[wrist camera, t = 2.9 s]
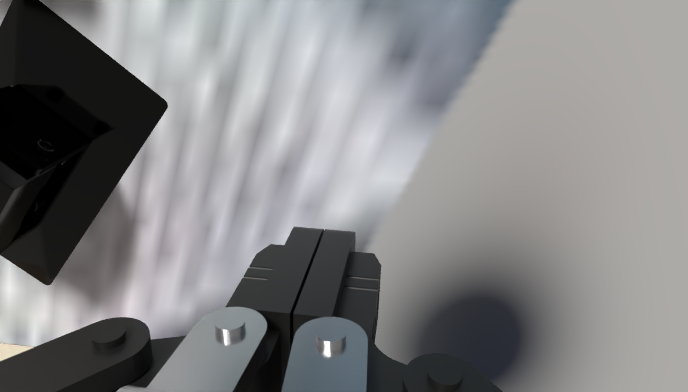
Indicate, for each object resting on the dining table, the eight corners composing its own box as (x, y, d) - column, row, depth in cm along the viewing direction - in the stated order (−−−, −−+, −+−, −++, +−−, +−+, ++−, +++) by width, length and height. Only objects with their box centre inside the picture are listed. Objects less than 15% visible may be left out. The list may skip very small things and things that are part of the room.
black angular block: (32, -75, 16) (-104, -90, 12) (230, 83, 17) (171, 122, 13) (-100, 207, 21) (-233, 270, 16) (63, 316, 22) (-21, 401, 18)
